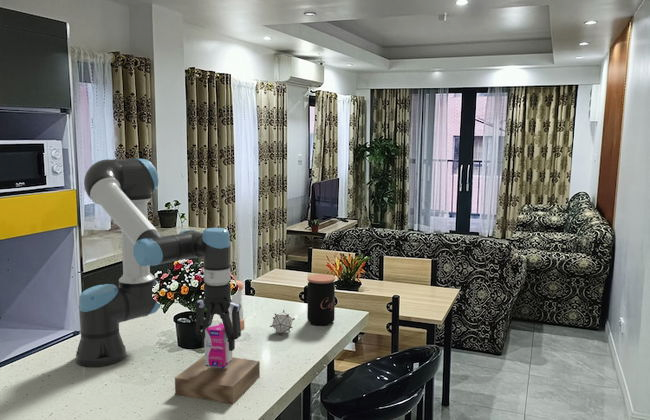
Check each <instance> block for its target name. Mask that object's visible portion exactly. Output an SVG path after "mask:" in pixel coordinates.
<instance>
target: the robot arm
mask: <svg viewBox="0 0 650 420" xmlns="http://www.w3.org/2000/svg"><path fill="white" fill-rule="evenodd" d="M158 175H159V174H158V171H157V169H156V167H155V166H154V164H153V163H152V162H151V161H150V160H149V159H147V158H136V157H135V158H134V157H133V158H117V159H114V158H113V159H111V158H110V159H109V158H107V159H102V160H98V161H96V162H95V163H93V164H92V165H91V166H90V167H89V168H88V169H87V171H86V172H85V176H84V180H83V186H84V190H85V193H86V195H87V196H88V198H90V200H91V201H92V203H94V204H97V205H99V206H101V207H102V209H103V210H104V211H105V212H106V213H107V214H108V215H109V217H110V218H111V219H112V220H113V222H114V223H115V224H116V225H117V227H118V228H119V229H120V232H121V249H122V250H121V251H122V252H121V254H122V270H123V271H122V273H123V274H122V275H121V277H120V278H119V279H118V286H117V285H115V284H113V283H105V284H97V285H94V286H91V287H89V288H86V289H85V290H83V291H82V292H81V293H80V295H79V298H78V299H79V300H78V311H79V327H80V340H79V342H78V347H77V350H76V354H75V360H76V361H75V362H76V364H78V365H79V366H82V367H88V368H97V367H105V366H109V365H114V364H115V363H116V364H117V363H118V362H120V361H122V360H123V359H125V357H126V355H127V353H126V352H127V350H126V346H125V344H124V341H123V339H122V337H121V333H120V323H123V322H127V321H130V320H134V319H138V318H139V319H140V318H143V317H148V316H149V315H153V314H155V313H156V312H157V311H159V310H160V308H161V306H162V304H161V305H160V304H158V303H157V302H156V301H155V300H154V299H153V297H152V294H154V293H153V292H152V288H154V287H153V286H155V285H156V284H157V283H158V282H159V281H157V280H156V277H155V275H153V274H152V273H151V269H150V268H151V267H152V266H153V267H154V266H157V265H162V264H167V263H172V262H178V261H183V260H189V259H194V258H195V259H200V260H202V261H203V265H202V267H203V282H204V283H203V296H204V298H203V299H198V300H197V301H195V302H194V305H195V312H196V313H195V334H196V335H199V336H200V337H201V346H202V348H204V355H205V360H206V347H205V329H206V328H207V327H208V326H210V325H211V324H212V323H213V319H214V316H215V315H217V316H219V317H220V319H221V321H222V324H223V325H224V328H225V331H226V335H227V338H228V339H227V340H226V341H225V349H226V363H228V362H230V361H231V360H232V357H233V351H234V350H235V347H236V345H235V344H236V340H238V339H239V338H240V337H241V336H242V330H241V328H240V315H239V311H240V307H241V305H240V304H234V303H232V301H231V299H230V295H231V284H230V282H229V281H231V238H230V237H231V236H230V232H229V230H228V229H227V228H224V227H209V228H205V229H203V231H202V232H200V231H197V230H192V229H190V230H188V229H187V230H186V229H184V230H182V231H180V232H179V233H176V234H171V235H163V234H162V233H161V232H160V231H159V230H158V229H157V228H156V227H155V226H154V225H153V223H152V222H151V221H150V220H149V217H148V215H149V214H148V203H150V201H151V200H152V198H153V197H152V194H153V193H155V192H156V191H157V190H158V187H159V176H158ZM205 307H206V313H205ZM229 307H231V311H232V323H231V320H230V317H229V310H228V309H229ZM232 325H233V327H232Z"/></svg>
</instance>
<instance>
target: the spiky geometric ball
mask: <svg viewBox="0 0 650 420" xmlns="http://www.w3.org/2000/svg"><path fill="white" fill-rule="evenodd" d="M272 319H273V321H272V324H271V325H270V326H269V328H273V329H275V332H278V333H279V335H280V336H282V335H283V334H284V333H286V332H291V330H290V329H293V326H292V325H293V321H294V320H295V318H294V317H293V318H292V317H291V316H290V314H289V313H286V312H285V309H283V310H282V312H280V313H274V317H272Z"/></svg>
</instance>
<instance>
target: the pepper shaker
mask: <svg viewBox="0 0 650 420" xmlns="http://www.w3.org/2000/svg"><path fill="white" fill-rule="evenodd" d="M234 279H235V282H236V283H237V285H238V286H239V290H238V292H237V294H236V295H235V296H232V297H233V300H232V303H234V304H240V305H241V307H240V311H239V315H240V328H241V331H243V330H244V329H245V318H244V306H243V296H242V294H243V293H242V292H243V289H244V287H245V286H244V283H243V282H242V281H240V280H237V279H236V278H234ZM228 310H229V317H230V320H231V323H232V311H231V307H229V309H228ZM232 327H233V325H232Z"/></svg>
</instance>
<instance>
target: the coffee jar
mask: <svg viewBox="0 0 650 420" xmlns="http://www.w3.org/2000/svg"><path fill="white" fill-rule="evenodd" d="M307 280H308V282H307V311H306V312H307V313H306V314H307V316H306V317H307V318H306V319H307V321H308V323H309V324H310V325H312V326H316V327H325V326H330V325H332V324H333V322H335V309H336V307H335V304H336V303H335V297H336V296H335V295H336V291H335V290H336V287H335V285H336V284H335V280H336V278H335V276H333V275H330V274H325V273H324V274H323V273H322V274H321V273H320V274H319V273H317V274H312V275H309V276H308V277H307Z"/></svg>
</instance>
